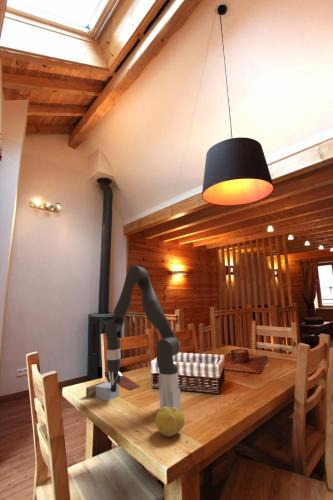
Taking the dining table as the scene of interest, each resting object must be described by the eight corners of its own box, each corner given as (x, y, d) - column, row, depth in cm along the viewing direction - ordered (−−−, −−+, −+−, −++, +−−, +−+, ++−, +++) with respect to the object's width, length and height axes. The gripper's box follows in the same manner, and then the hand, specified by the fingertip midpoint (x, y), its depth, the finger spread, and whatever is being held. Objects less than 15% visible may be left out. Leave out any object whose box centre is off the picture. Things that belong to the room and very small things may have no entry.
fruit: (179, 445, 95) (178, 415, 96) (150, 439, 99) (150, 411, 100) (188, 430, 105) (187, 403, 106) (161, 425, 109) (161, 400, 111)
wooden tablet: (109, 380, 170) (109, 377, 170) (122, 377, 176) (122, 374, 176) (127, 392, 149) (127, 388, 149) (142, 387, 154) (142, 384, 155)
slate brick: (118, 396, 142) (118, 385, 143) (107, 401, 135) (107, 389, 136) (106, 392, 148) (107, 381, 148) (95, 397, 141) (95, 385, 142)
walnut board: (106, 391, 149) (107, 382, 150) (89, 398, 139) (89, 388, 140) (103, 390, 151) (103, 381, 151) (86, 397, 141) (86, 387, 142)
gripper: (127, 357, 139) (127, 392, 136) (111, 354, 147) (110, 387, 144) (116, 360, 133) (116, 396, 130) (100, 357, 141) (100, 391, 138)
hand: (113, 391), depth 137 cm, fingers closed
